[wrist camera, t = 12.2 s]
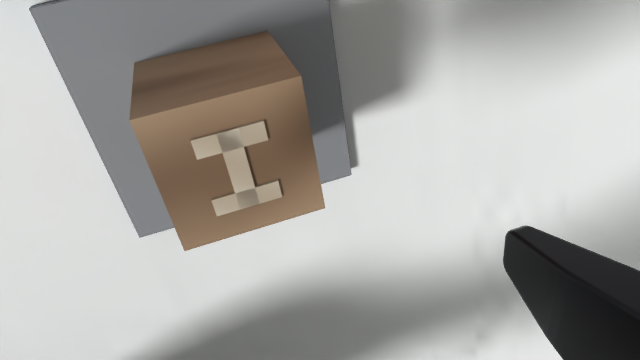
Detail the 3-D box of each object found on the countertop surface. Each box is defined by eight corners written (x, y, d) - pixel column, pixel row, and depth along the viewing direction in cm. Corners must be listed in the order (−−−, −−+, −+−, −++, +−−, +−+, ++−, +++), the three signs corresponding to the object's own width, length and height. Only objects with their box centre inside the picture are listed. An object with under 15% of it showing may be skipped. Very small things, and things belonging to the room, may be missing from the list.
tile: (348, 170, 21) (351, 174, 21) (140, 231, 19) (139, 237, 19) (317, -56, 16) (321, -54, 15) (31, 6, 14) (28, 8, 14)
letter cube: (291, 143, 19) (325, 209, 15) (177, 175, 18) (184, 252, 14) (267, 30, 16) (302, 76, 13) (134, 62, 16) (129, 121, 12)
